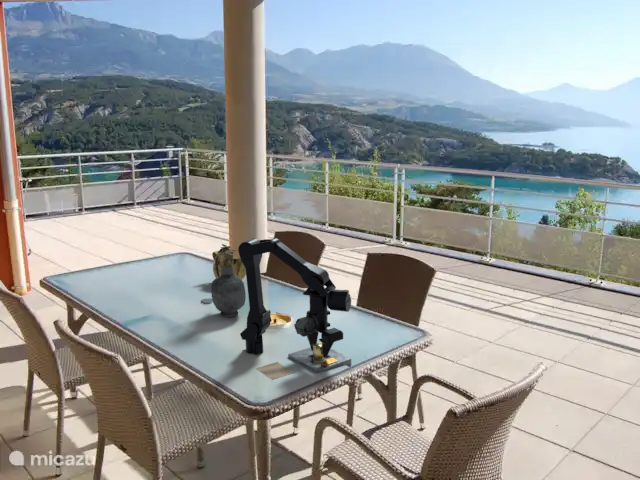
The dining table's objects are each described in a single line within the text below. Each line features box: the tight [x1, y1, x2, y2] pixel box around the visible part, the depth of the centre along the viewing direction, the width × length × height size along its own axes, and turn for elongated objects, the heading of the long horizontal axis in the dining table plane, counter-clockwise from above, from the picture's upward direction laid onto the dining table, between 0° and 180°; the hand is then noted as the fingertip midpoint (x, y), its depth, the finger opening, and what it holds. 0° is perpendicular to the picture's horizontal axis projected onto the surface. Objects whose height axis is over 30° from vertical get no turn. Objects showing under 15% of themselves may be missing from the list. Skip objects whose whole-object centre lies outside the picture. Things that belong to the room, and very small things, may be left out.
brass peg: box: [312, 342, 326, 361], centre depth 179 cm, size 4×4×6 cm
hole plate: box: [287, 346, 352, 375], centre depth 179 cm, size 16×14×2 cm
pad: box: [255, 361, 295, 381], centre depth 172 cm, size 10×8×1 cm
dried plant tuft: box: [211, 250, 246, 281], centre depth 273 cm, size 22×17×15 cm
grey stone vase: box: [210, 243, 247, 318], centre depth 226 cm, size 11×19×30 cm, turn 34°
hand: (319, 353), depth 179 cm, fingers open, 6 cm apart
